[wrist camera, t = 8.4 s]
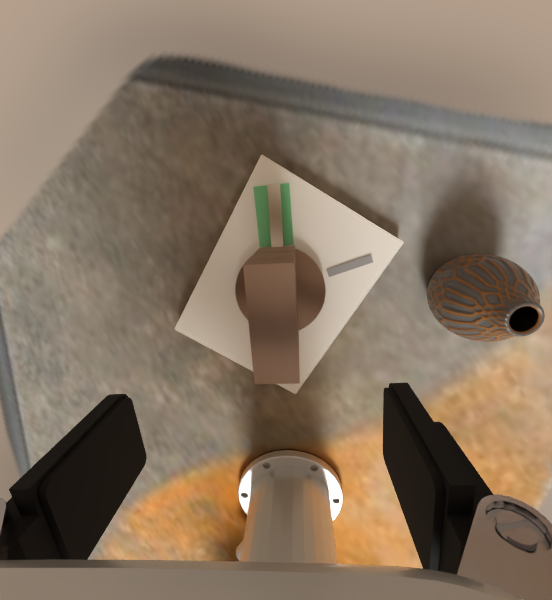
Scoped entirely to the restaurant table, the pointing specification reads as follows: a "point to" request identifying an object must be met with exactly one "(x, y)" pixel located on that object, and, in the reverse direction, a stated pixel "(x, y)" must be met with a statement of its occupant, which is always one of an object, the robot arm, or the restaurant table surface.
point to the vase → (485, 298)
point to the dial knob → (278, 301)
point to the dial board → (305, 237)
